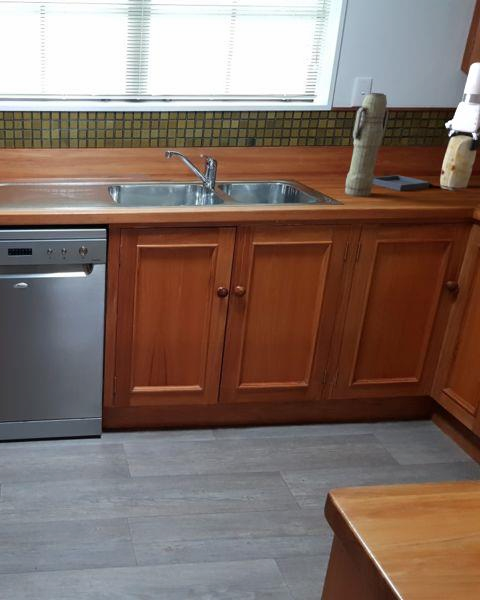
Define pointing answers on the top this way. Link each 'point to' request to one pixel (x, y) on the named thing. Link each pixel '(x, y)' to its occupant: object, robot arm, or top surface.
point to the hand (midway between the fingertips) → (461, 148)
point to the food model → (457, 163)
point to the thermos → (366, 144)
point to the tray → (400, 182)
